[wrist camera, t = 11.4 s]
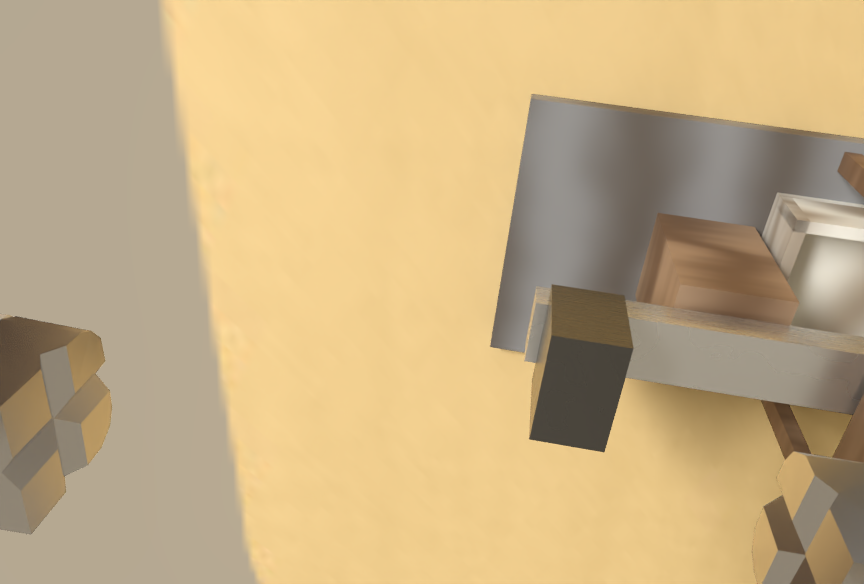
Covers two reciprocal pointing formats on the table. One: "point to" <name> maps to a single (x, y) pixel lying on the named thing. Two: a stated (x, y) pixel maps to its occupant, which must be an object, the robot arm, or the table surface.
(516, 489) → the table surface
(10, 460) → the robot arm
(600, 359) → the steel shaft
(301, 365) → the table surface
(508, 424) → the table surface
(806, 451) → the shaft stand
